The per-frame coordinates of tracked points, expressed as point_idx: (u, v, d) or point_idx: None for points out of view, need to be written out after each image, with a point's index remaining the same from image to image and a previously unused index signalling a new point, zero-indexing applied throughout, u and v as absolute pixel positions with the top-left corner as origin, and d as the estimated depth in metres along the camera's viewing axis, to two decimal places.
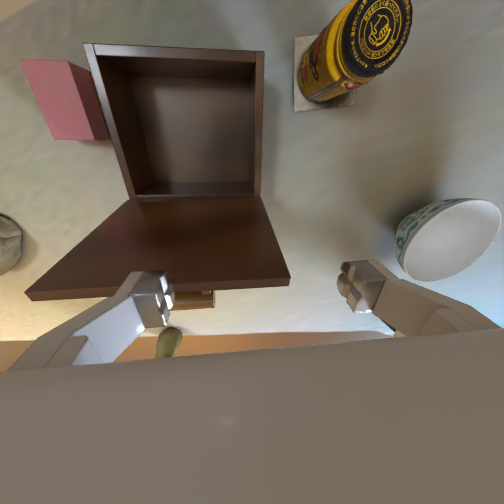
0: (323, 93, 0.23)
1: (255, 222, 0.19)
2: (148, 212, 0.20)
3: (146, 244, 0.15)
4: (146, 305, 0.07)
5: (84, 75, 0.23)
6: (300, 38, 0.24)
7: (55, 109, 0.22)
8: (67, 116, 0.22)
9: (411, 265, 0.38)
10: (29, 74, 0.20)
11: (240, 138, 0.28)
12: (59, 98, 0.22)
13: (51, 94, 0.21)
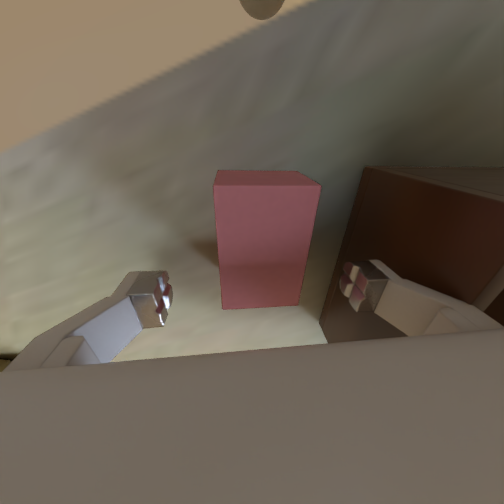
0: None
1: None
2: None
3: None
4: (143, 305, 0.07)
5: None
6: None
7: (249, 267, 0.10)
8: (267, 276, 0.11)
9: None
10: (224, 212, 0.08)
11: None
12: (266, 250, 0.10)
13: (253, 244, 0.09)
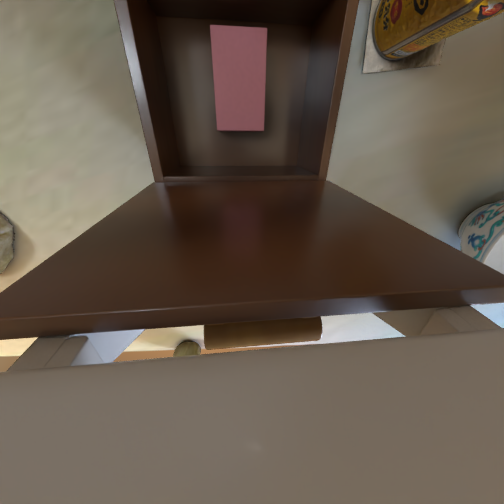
0: (421, 37, 0.16)
1: (351, 204, 0.13)
2: (187, 194, 0.14)
3: (202, 231, 0.09)
4: None
5: None
6: None
7: (231, 91, 0.18)
8: (242, 100, 0.18)
9: None
10: (216, 44, 0.16)
11: (292, 107, 0.22)
12: (240, 77, 0.17)
13: (233, 71, 0.17)
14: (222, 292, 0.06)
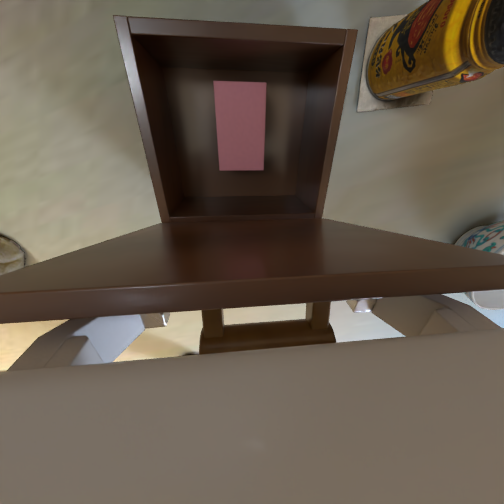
0: (410, 88, 0.18)
1: (347, 227, 0.13)
2: (191, 227, 0.15)
3: (203, 243, 0.09)
4: None
5: None
6: (376, 19, 0.19)
7: (233, 137, 0.19)
8: (243, 144, 0.19)
9: None
10: (219, 97, 0.17)
11: (290, 144, 0.23)
12: (241, 124, 0.18)
13: (234, 119, 0.18)
14: (221, 273, 0.05)
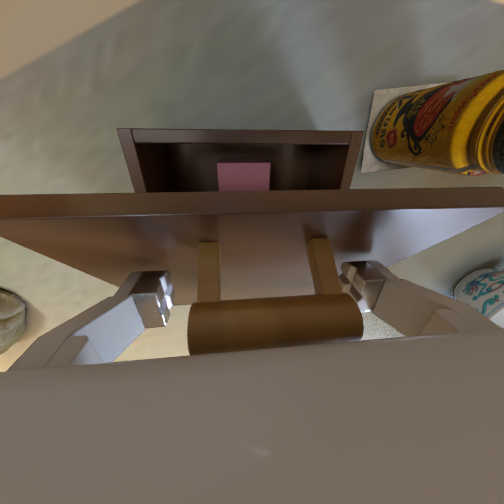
0: (415, 166, 0.18)
1: None
2: None
3: None
4: (146, 305, 0.07)
5: None
6: (381, 91, 0.19)
7: None
8: None
9: None
10: (222, 177, 0.17)
11: None
12: None
13: None
14: None
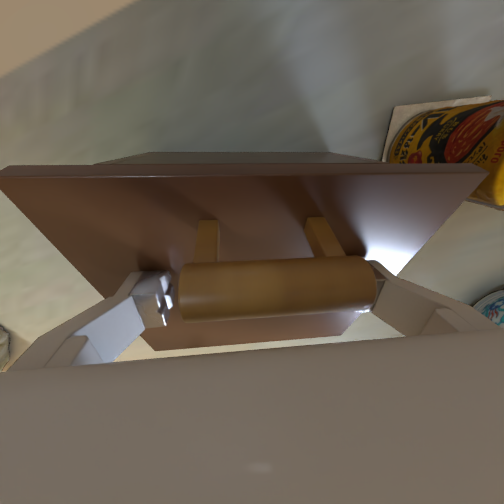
0: None
1: None
2: None
3: None
4: (146, 305, 0.07)
5: None
6: (401, 108, 0.16)
7: None
8: None
9: None
10: None
11: None
12: None
13: None
14: None
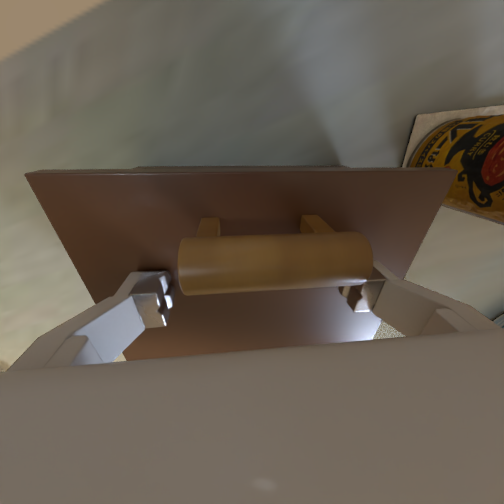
0: (473, 215, 0.13)
1: None
2: None
3: None
4: (146, 305, 0.07)
5: None
6: (424, 116, 0.15)
7: None
8: None
9: None
10: None
11: None
12: None
13: None
14: None
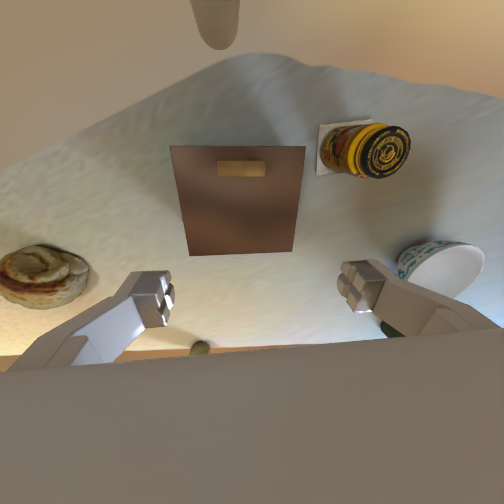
0: (342, 171, 0.29)
1: None
2: None
3: None
4: (146, 305, 0.07)
5: None
6: (323, 125, 0.30)
7: None
8: None
9: None
10: None
11: None
12: None
13: None
14: None
